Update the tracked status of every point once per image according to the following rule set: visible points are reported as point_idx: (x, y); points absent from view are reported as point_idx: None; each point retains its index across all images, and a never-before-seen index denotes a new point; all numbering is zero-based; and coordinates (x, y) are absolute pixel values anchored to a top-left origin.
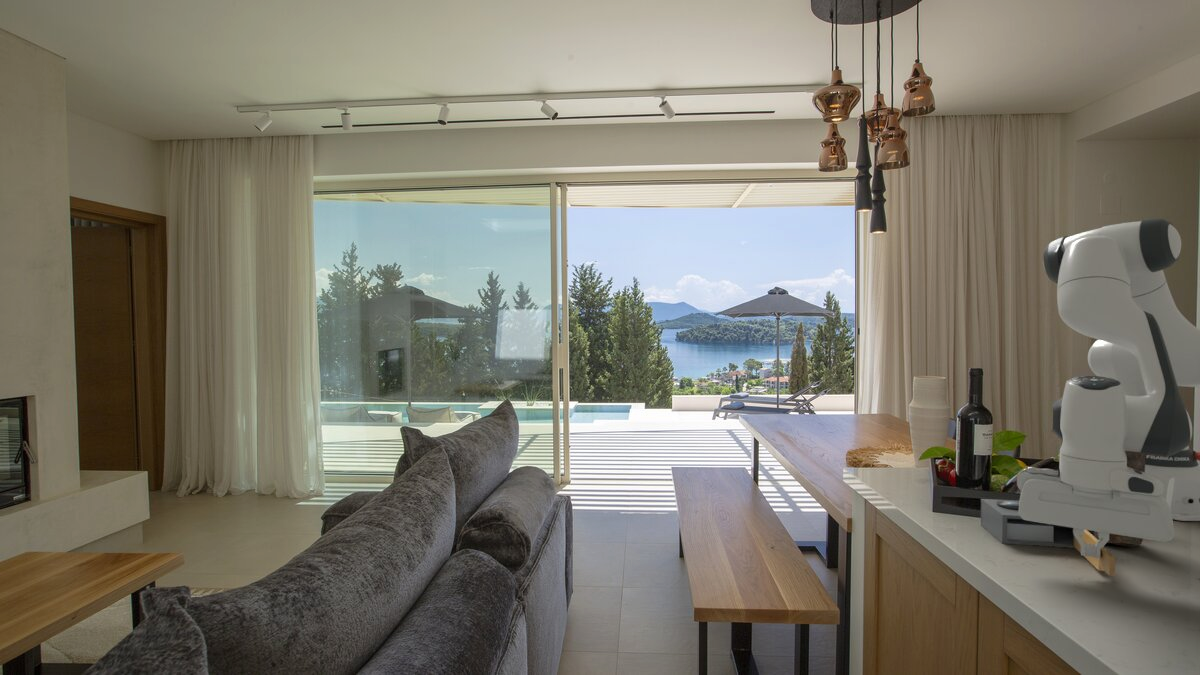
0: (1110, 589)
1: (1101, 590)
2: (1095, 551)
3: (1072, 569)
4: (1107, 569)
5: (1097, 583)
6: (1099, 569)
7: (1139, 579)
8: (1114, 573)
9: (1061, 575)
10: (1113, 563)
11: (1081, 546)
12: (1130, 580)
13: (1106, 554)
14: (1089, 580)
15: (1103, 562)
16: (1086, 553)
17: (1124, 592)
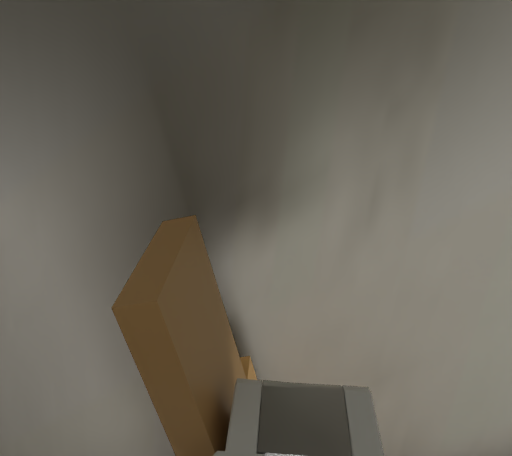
0: (203, 99)
1: (260, 35)
2: (267, 419)
3: (380, 348)
4: (199, 262)
5: (272, 176)
6: (244, 361)
7: (67, 361)
8: (158, 230)
9: (475, 209)
10: (142, 271)
11: (382, 451)
12: (104, 326)
13: (182, 364)
14: (313, 207)
15: (218, 349)
16: (334, 397)
17: (125, 89)
